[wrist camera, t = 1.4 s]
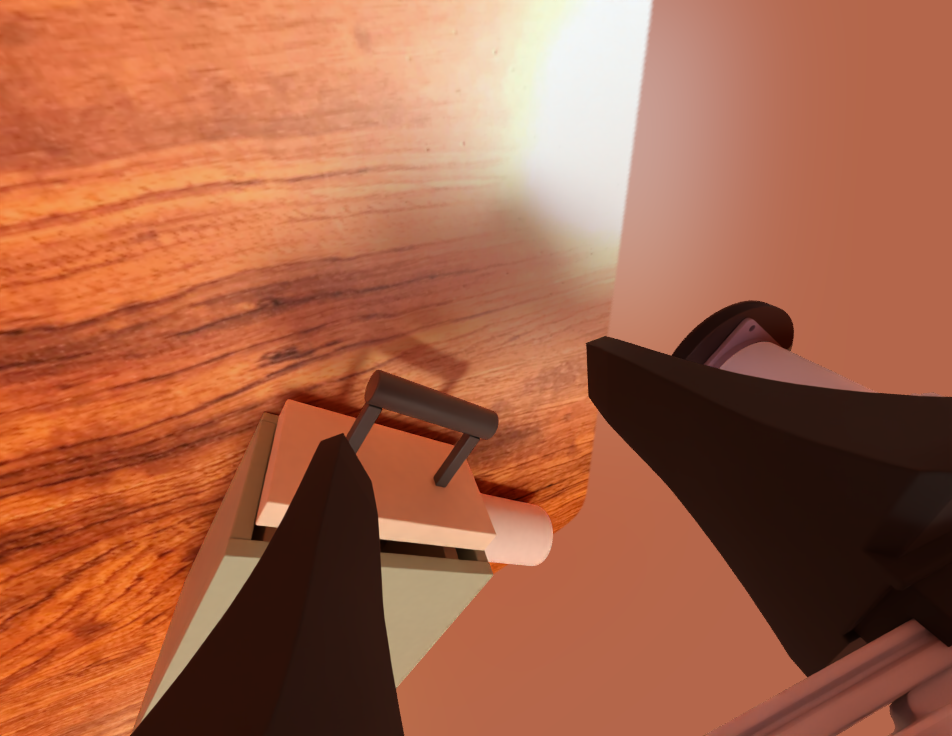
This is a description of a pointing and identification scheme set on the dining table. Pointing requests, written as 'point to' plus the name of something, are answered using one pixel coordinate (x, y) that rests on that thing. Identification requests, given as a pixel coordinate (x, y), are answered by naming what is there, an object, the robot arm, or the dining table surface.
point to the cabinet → (235, 555)
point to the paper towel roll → (518, 532)
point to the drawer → (392, 467)
